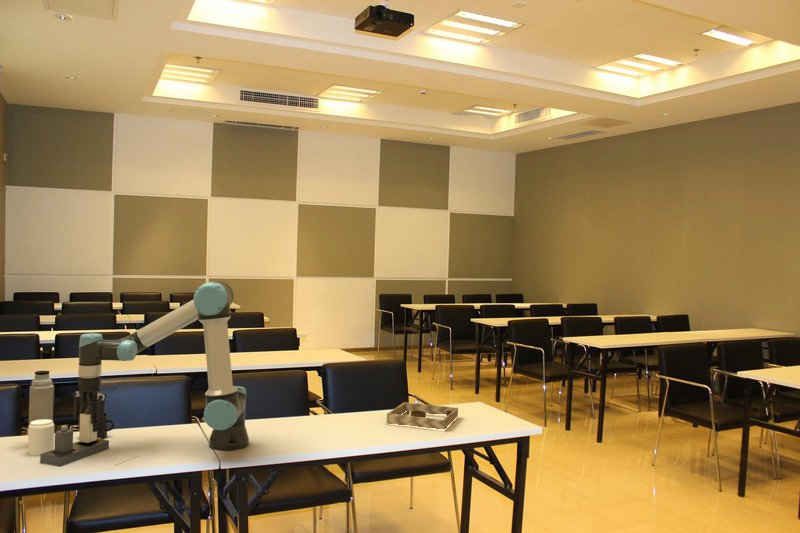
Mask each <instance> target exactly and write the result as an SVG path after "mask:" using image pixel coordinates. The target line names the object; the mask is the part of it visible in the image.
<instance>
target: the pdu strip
mask: <svg viewBox="0 0 800 533" xmlns="http://www.w3.org/2000/svg"><path fill="white" fill-rule="evenodd" d="M109 448H110V440H108V439H102V438H97V440H95V441H92V442H89V443H86V442H80V441H79V440H78V441H75V442H73V452H70V453H67V454H64V455H62V454H56V453H54V450H55V448H54V450H51V451H48V452H45V453H42V454H40V455H39V457H40V458H39V459H40V460H39V461H40V462H39V463H40V464H44V465H50V466H58V467H63V466H66V465H68V464H70V463H73V462H77V461H79V460H81V459H85V458H88V457H89V456H93V455H95V454H99V453H101V452H103V451H107V450H108V449H109Z"/></svg>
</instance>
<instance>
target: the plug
mask: <svg viewBox="0 0 800 533" xmlns="http://www.w3.org/2000/svg"><path fill="white" fill-rule="evenodd" d="M90 422H92V419H91V411H90V406H88V408H86V413H82V414H80V430H79V432H80V435H79V437H78V438H79V440H78V441H80V442H86V443H89V442H92V441H90ZM94 441H95V440H94Z"/></svg>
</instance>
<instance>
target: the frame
mask: <svg viewBox="0 0 800 533" xmlns="http://www.w3.org/2000/svg"><path fill="white" fill-rule="evenodd" d="M448 410H449V411H452V412H451V413H450V414H449V415H448V416H447V417H444V418H443V419H442V418H441V419H439V418H430V417H427V418H423V417H415V416H411V415H404V414H405V413H404V412H405V411H407V412H412V411H423V412H425V413H429V414H446V415H447V411H448ZM402 413H404V414H403V415H401V414H402ZM457 416H458V417H459V408H458V407H453V406H443V405H435V404H425V403H418V402H417V403H415V402H408V401H407V402H405V401H404V402H402V403H401V404H399V405H398V406H397V407H395V408H394V409H392V410H391V411H389V412H387V413H386V424H387V423H388V424H398V425H410V426H418V427H426V428H436V429H446V428H447V426H448V425H449V424H450V423H451V422H452V421H453V420H454V419H455V418H456V417H457Z"/></svg>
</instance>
